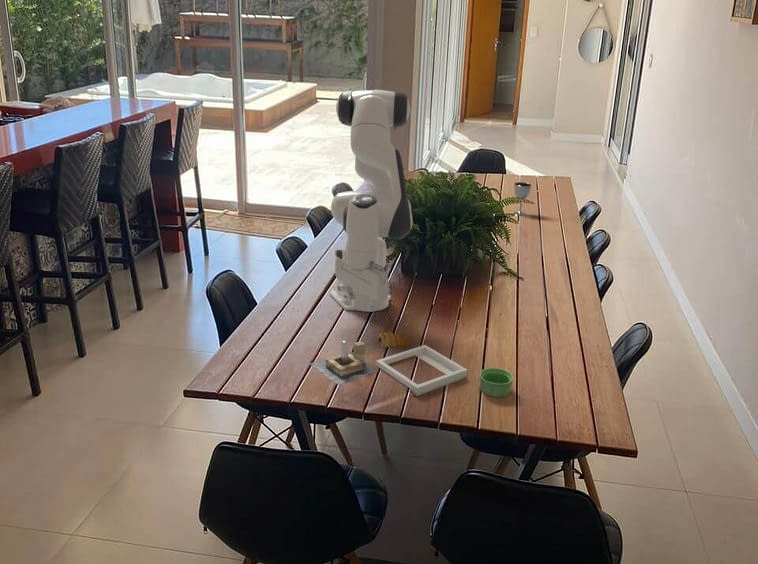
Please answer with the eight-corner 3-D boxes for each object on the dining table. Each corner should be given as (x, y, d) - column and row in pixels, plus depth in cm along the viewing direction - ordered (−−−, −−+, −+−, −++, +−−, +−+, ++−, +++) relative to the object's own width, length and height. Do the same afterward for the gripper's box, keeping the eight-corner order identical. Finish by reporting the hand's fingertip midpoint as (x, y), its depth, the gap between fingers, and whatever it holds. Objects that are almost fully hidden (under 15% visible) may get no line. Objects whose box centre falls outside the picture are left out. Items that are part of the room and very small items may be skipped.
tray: (375, 368, 199) (376, 360, 198) (424, 352, 210) (425, 344, 209) (416, 396, 186) (417, 388, 185) (466, 377, 196) (467, 369, 195)
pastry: (406, 339, 218) (406, 328, 216) (411, 349, 212) (412, 338, 210) (376, 341, 216) (376, 329, 214) (381, 351, 210) (381, 339, 208)
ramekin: (508, 381, 195) (509, 367, 194) (515, 398, 187) (516, 384, 185) (475, 381, 195) (477, 367, 193) (481, 398, 187) (482, 383, 185)
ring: (325, 365, 198) (325, 346, 196) (354, 356, 204) (355, 337, 201) (340, 376, 192) (341, 356, 190) (370, 366, 198) (371, 347, 196)
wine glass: (508, 211, 355) (511, 182, 349) (522, 211, 357) (526, 182, 351) (516, 216, 348) (519, 186, 342) (530, 215, 350) (534, 185, 344)
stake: (309, 366, 199) (309, 337, 196) (350, 354, 207) (351, 326, 204) (337, 388, 189) (337, 358, 185) (379, 373, 197) (380, 344, 193)
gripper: (395, 266, 183) (393, 315, 188) (350, 244, 198) (349, 290, 203) (376, 270, 179) (374, 320, 184) (331, 248, 194) (330, 295, 199)
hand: (360, 304), depth 194 cm, fingers open, 8 cm apart
